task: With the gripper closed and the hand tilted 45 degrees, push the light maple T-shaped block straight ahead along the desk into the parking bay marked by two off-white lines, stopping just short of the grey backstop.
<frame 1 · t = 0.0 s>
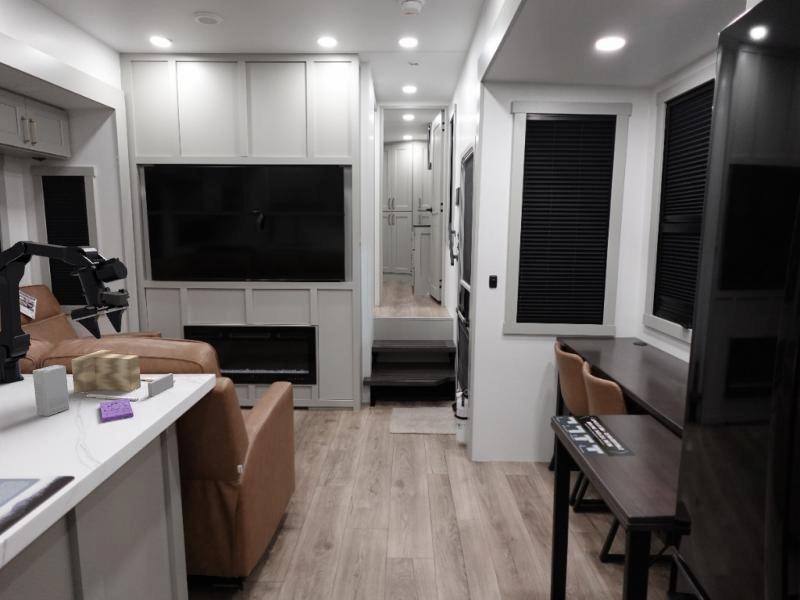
hand: (109, 335, 150), 15 cm above the countertop, tool pointing down, fingers open, 9 cm apart
t block: (95, 386, 150), on the countertop
sponges: (116, 414, 130), on the countertop
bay: (133, 389, 148), on the countertop
skincare box: (53, 412, 129), on the countertop
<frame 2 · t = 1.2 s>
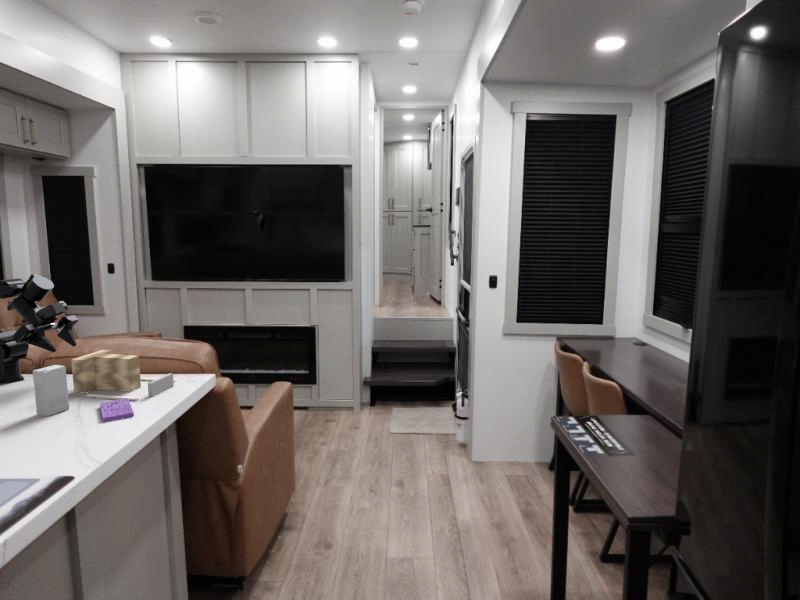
hand: (65, 348, 150), 11 cm above the countertop, tool tilted 45°, fingers open, 7 cm apart
nothing on the countertop moved.
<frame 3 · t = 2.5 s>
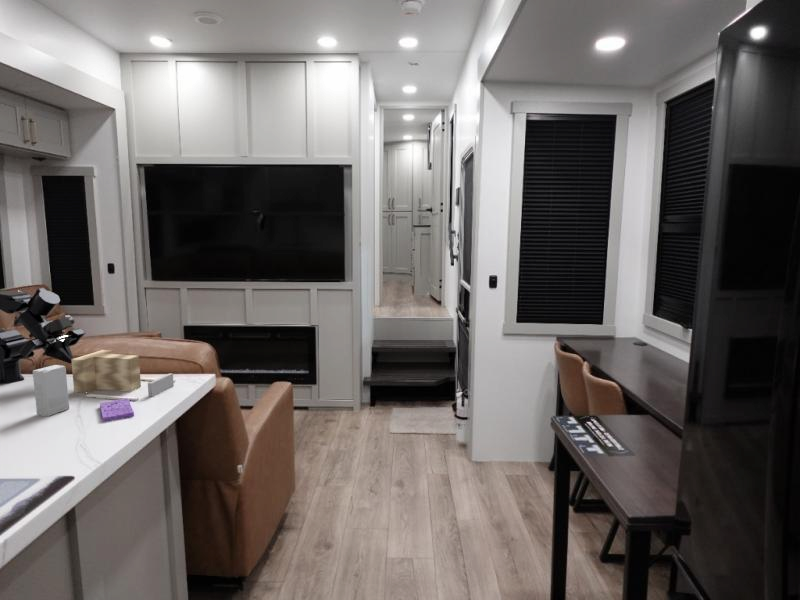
hand: (72, 362, 150), 7 cm above the countertop, tool tilted 45°, fingers closed
nothing on the countertop moved.
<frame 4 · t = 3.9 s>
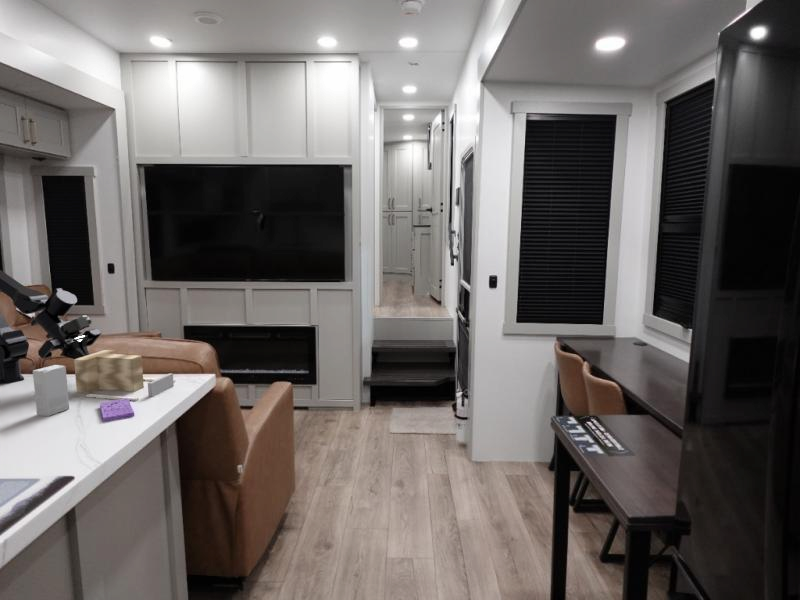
hand: (89, 362, 149), 7 cm above the countertop, tool tilted 45°, fingers closed, pressing on t block
t block: (98, 386, 150), on the countertop, touching gripper
everything else where it was.
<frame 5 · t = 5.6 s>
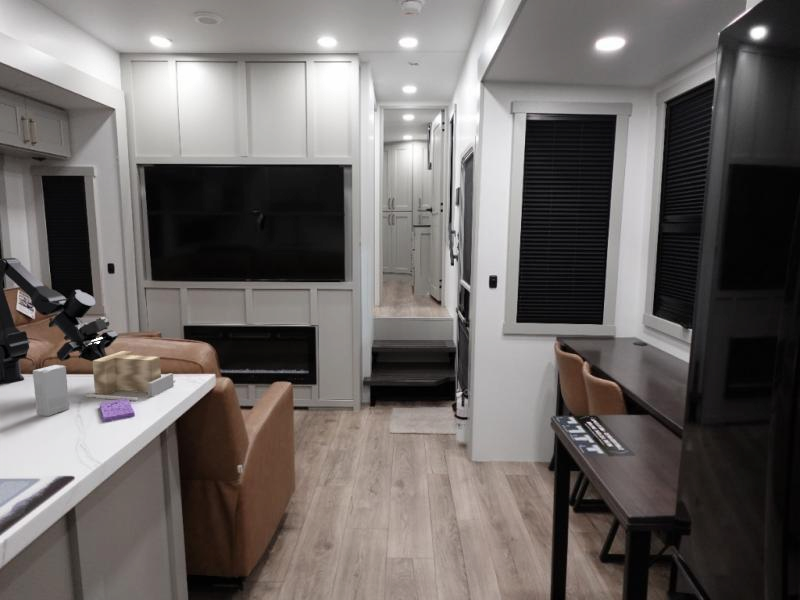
hand: (107, 365, 148), 7 cm above the countertop, tool tilted 45°, fingers closed, pressing on t block
t block: (116, 387, 149), on the countertop, touching gripper
everything else where it was.
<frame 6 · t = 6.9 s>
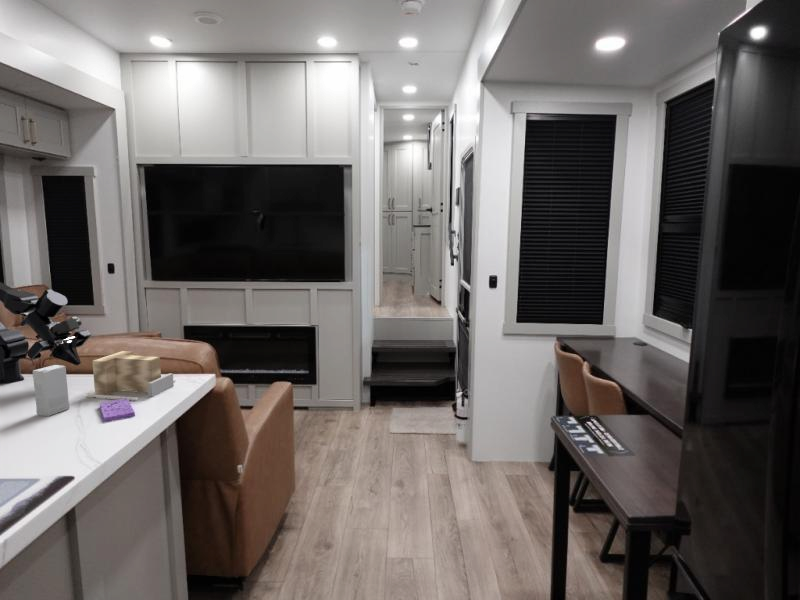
hand: (79, 364, 150), 7 cm above the countertop, tool tilted 45°, fingers closed
t block: (116, 387, 149), on the countertop
everything else where it was.
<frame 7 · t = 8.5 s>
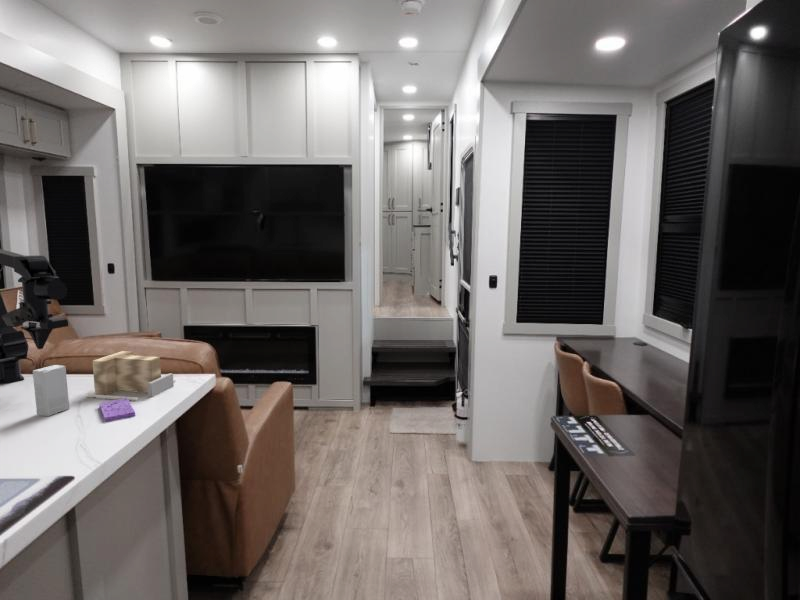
hand: (40, 348, 148), 12 cm above the countertop, tool pointing down, fingers closed
nothing on the countertop moved.
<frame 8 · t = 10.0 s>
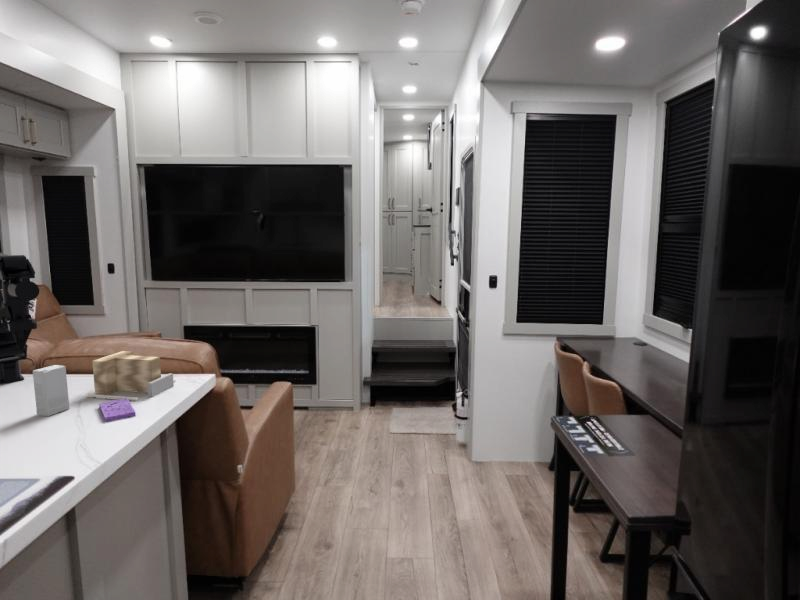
hand: (21, 349, 146), 12 cm above the countertop, tool pointing down, fingers closed
nothing on the countertop moved.
at the end: t block inside the target area (0.5 cm from its centre), on the countertop; t block moved 7.1 cm from its start; t block tilted 0° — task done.
